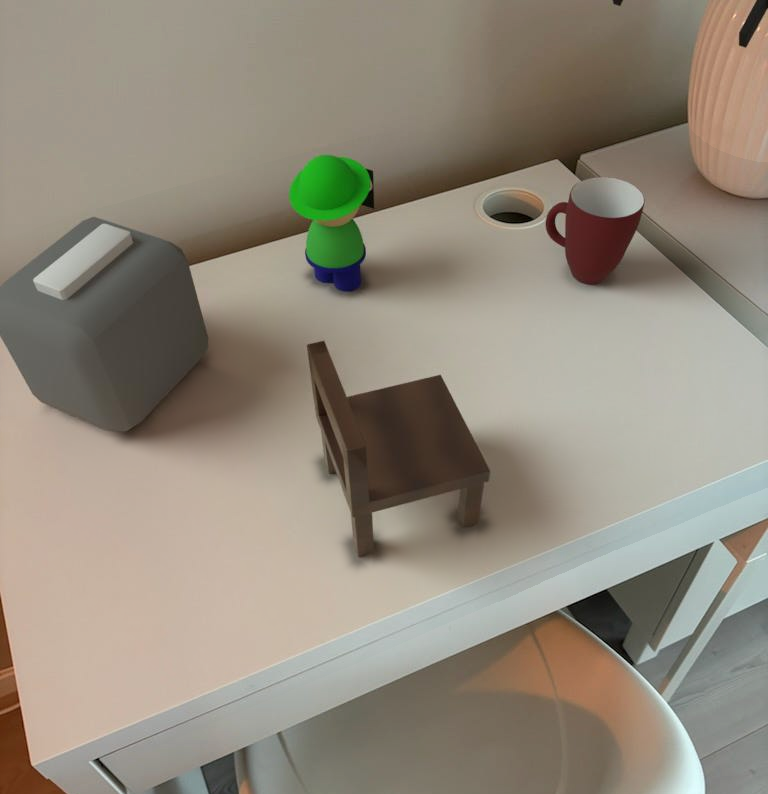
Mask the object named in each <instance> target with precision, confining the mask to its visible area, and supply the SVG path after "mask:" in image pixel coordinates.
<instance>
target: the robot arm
mask: <svg viewBox="0 0 768 794" xmlns="http://www.w3.org/2000/svg"><path fill="white" fill-rule="evenodd" d="M623 2H624V0H612V3H613V5H615V6H618V7H621V6H622V3H623ZM767 10H768V0H756V1H755V2H754V4H753V6H752V8H751V10H750V11H749V14H748V15H747V17H746V19H745V21H744V23H743V24H742V27H741V29H740V30H739V32H738V46H739V47H742V48H745V49H747V47H748V46H749V44H750V41H751V40H752V38H753V36H754V34H755V33H756V31H757V29H758V27H759V25H760V23H761V21H762V20H763V18H764V16H765V14H766V12H767Z"/></svg>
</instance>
